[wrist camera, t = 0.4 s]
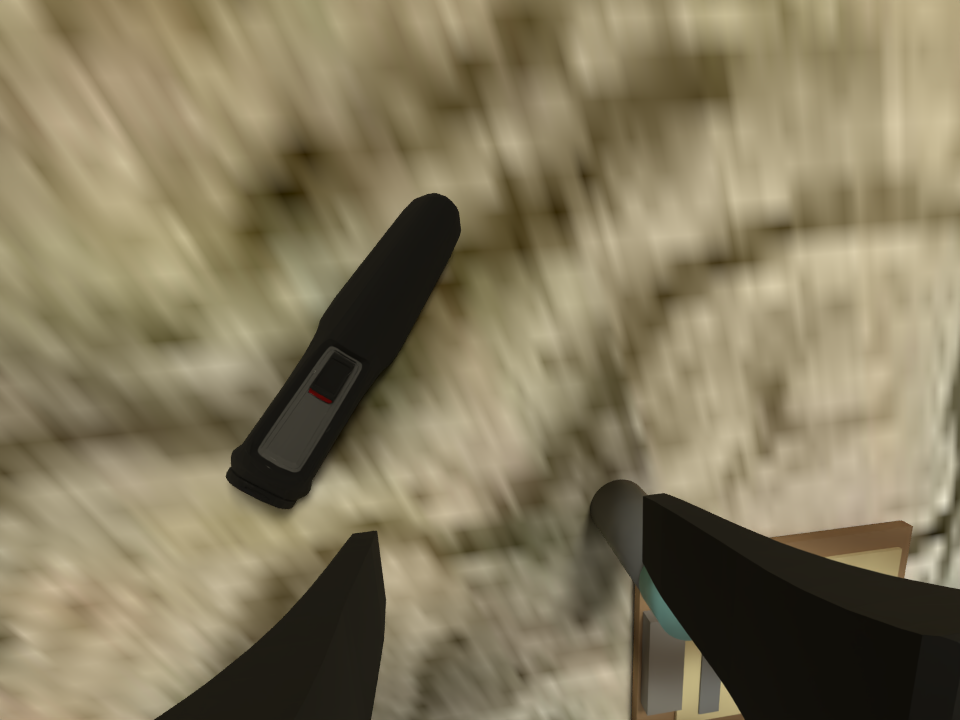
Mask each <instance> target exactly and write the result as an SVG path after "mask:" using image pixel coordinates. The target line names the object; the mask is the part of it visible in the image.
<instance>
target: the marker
mask: <svg viewBox="0 0 960 720" xmlns="http://www.w3.org/2000/svg"><path fill="white" fill-rule="evenodd" d="M646 495H647V494H646V493H645V492H644V491H643V490H642V489H641V488H640V487H639V486H638V485H637V484H636V483H634V482H631V481H628V480H615V481H612V482H609V483H607V484H606V485H604V486H603V487H601V488H600V489H599V490H598V491H597V493H596V494H595V496H594V497H593V500H592V502H591V509H590V511H591V517H592V519H593V521H594V523H595V524H596V526H597V527H598V529H599V530H600V532H601V533H602V535H603V536H604V538H605V539H606V541H607V543H608V544H609V546H610V547H611V549H612V550H613V552H614V553H615V555H616V556H617V558H618V559H619V561H620V562H621V564H622V565H623V567H624V568H625V570H626V571H627V573H628V574H629V576H630V577H631V579H632V580H633V582H634V583H635V585H636V586H637V588H638V589H639V591H640V593H641V595H642V597H643V599H644V601H645V602H646V604H647V605H648V607H649V608H650V610H651V611H652V613H653V614H654V616H655V617H656V619H657V620H658V622H659V623H660V625H661V626H662V628H663V629H664V630H665V632H667V633H668V634H669V635H670V636H672V637H674V638H676V639H679V640H685V641H692V640H691V638H690V637H689V636H688V634H687V633H686V631H685V630H684V629H683V627H682V626H681V624H680V623H679V622H678V620H677V619H676V617H675V616H674V615H673V613H672V612H671V610H670V609H669V608H668V606H667V605H666V603H665V602H664V600H663V599H662V597H661V596H660V594H659V592H658V591H657V589H656V587H655V585H654V583H653V582H652V580H651V578H650V576H649V574H648V572H647V570H646V568H645V566H644V564H643V562H642V535H643V496H646Z"/></svg>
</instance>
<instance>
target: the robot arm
mask: <svg viewBox="0 0 960 720" xmlns="http://www.w3.org/2000/svg"><path fill="white" fill-rule="evenodd" d="M642 562H643V564H644V566H645V568H646V570H647V572H648V574H649V576H650V578H651V580H652V582H653V583H654V585H655V587H656V589H657V591H658V592H659V594H660V596H661V597H662V599H663V600H664V602H665V603H666V605H667V606H668V608H669V609H670V610H671V612H672V613H673V615H674V616H675V617H676V619H677V620H678V622H679V623H680V624H681V626H682V627H683V629H684V630H685V631H686V633H687V634H688V636H689V637H690V638H691V640H692V641H693V642H694V644H695V645H696V647H697V648H698V649H699V651H700V652H701V654H702V655H703V656H704V658H705V659H706V660H707V662H708V663H709V665H710V666H711V667H712V669H713V670H714V672H715V673H716V674H717V676H718V677H719V679H720V680H721V682H722V683H723V685H724V686H725V688H726V689H727V691H728V692H729V694H730V696H731V697H732V699H733V701H734V702H735V704H736V706H737V707H738V709H739V711H740V712H741V714H742V716H743V717H744V719H745V720H960V589H955V588H949V587H944V586H939V585H934V584H929V583H924V582H919V581H914V580H909V579H905V578H900V577H896V576H891V575H887V574H883V573H879V572H875V571H871V570H867V569H864V568H860V567H856V566H852V565H848V564H845V563H841V562H838V561H835V560H831V559H828V558H825V557H822V556H819V555H816V554H813V553H810V552H807V551H804V550H800V549H797V548H795V547H792V546H789V545H786V544H784V543H781V542H778V541H776V540H773V539H771V538H768V537H766V536H763V535H761V534H758V533H756V532H753V531H751V530H749V529H746V528H744V527H741V526H739V525H737V524H735V523H732V522H730V521H728V520H726V519H723V518H721V517H719V516H717V515H714V514H712V513H710V512H708V511H706V510H703V509H701V508H699V507H697V506H695V505H692V504H690V503H688V502H685V501H683V500H681V499H678V498H676V497H673V496H671V495H668V494H665V493H662V494H654V495H646V496H643V535H642ZM385 609H386V596H385V589H384V581H383V573H382V565H381V558H380V550H379V542H378V535H377V531H370V532H362V533H355V534H352V536H351V537H350V538H349V539H348V540H347V542H346V543H345V544H344V545H343V547H342V548H341V549H340V551H339V552H338V553H337V555H336V556H335V557H334V559H333V560H332V561H331V562H330V564H329V565H328V566H327V568H326V569H325V570H324V571H323V573H322V574H321V575H320V576H319V577H318V579H317V580H316V581H315V582H314V584H313V585H312V586H311V587H310V588H309V590H308V591H307V592H306V593H305V594H304V595H303V596H302V597H301V599H300V600H299V601H298V602H297V603H296V604H295V605H294V606H293V607H292V608H291V610H290V611H289V612H288V613H287V614H286V615H285V616H284V617H283V618H282V619H281V620H280V621H279V622H278V623H277V624H276V625H275V626H274V627H273V628H272V629H271V630H270V631H268V632H267V633H266V634H265V635H264V636H263V637H262V638H261V639H260V640H259V641H258V642H257V643H255V644H254V645H253V646H252V647H251V648H250V649H249V650H247V651H246V652H245V653H244V654H242V655H241V656H240V657H239V658H237V659H236V660H235V661H234V662H233V663H231V664H230V665H229V666H228V667H226V668H225V669H224V670H223V671H221V672H220V673H219V674H218V675H216V676H215V677H214V678H213V679H211V680H210V681H209V682H207V683H206V684H205V685H203V686H202V687H201V688H199V689H198V690H197V691H195V692H194V693H192V694H191V695H190V696H188V697H187V698H185V699H184V700H183V701H181V702H180V703H178V704H177V705H175V706H174V707H172V708H171V709H169V710H168V711H166V712H165V713H163V714H162V715H161V716H159V717H157V718H156V719H154V720H371V716H372V710H373V704H374V698H375V692H376V686H377V680H378V674H379V668H380V661H381V655H382V649H383V642H384V630H385Z"/></svg>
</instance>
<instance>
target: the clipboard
mask: <svg viewBox="0 0 960 720" xmlns="http://www.w3.org/2000/svg"><path fill="white" fill-rule="evenodd" d="M912 528H913V526H911V525H909V524H907V523H906V522H904V521H894V522H886V523H879V524H871V525H864V526H856V527H848V528H841V529H833V530H825V531H818V532H810V533H803V534H795V535H787V536H780V537H772V538H771V539H773V540H776V541H778V542H781V543H784V544H786V545H789V546H792V547H795V548H797V549H800V550H804V551H807V552H810V553H813V554H816V555H819V556H822V557H825V558H828V559H831V560H835V561H838V562H841V563H845V564H848V565H852V566H856V567H860V568H864V569H867V570H871V571H875V572H879V573H883V574H887V575H891V576H896V577H900V578H904V575H905V569H906V563H907V558H908V552H909V546H910V540H911V534H912ZM632 720H745V719H744V717H743V716H742V714H741V712H740V711H739V709H738V707H737V706H736V704H735V702H734V701H733V699H732V697H731V696H730V694H729V692H728V691H727V689H726V688H725V686H724V685H723V683H722V682H721V680H720V679H719V677H718V676H717V674H716V673H715V672H714V670H713V669H712V667H711V666H710V665H709V663H708V662H707V660H706V659H705V658H704V656H703V655H702V654H701V652H700V651H699V649H698V648H697V647H696V645H695V644H694V642H693V641H685V640H679V639H676V638H674V637H672V636H670V635H669V634H668V633H667V632H665V630H664V629H663V628H662V626H661V625H660V623H659V622H658V620H657V619H656V617H655V616H654V614H653V613H652V611H651V610H650V608H649V607H648V605H647V604H646V602H645V601H644V599H643V597H642V595H641V593H640V591H639V589H638V588H637V586H636V585H635V606H634V648H633V690H632Z"/></svg>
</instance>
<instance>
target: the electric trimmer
mask: <svg viewBox="0 0 960 720" xmlns="http://www.w3.org/2000/svg"><path fill="white" fill-rule="evenodd" d="M460 232H461V226H460V217H459V211H458V209H457V207H456V206H455V205H454V203H453V202H452V201H451V200H450V199H448V198H447V197H446V196H443V195H440V194H437V193H432V194H427V195H424V196H421V197H419V198H416V199H414V200H413V201H412V202H411V203H410V204H409V205H408V206H407V207H406V208H405V209H404V210H403V211H402V213H401V214H400V215H399V216H398V218H397V219H396V220H395V222H394V223H393V224H392V225H391V227H390V228H389V229H388V230H387V232H386V233H385V234H384V236H383V237H382V238H381V239H380V241H379V242H378V243H377V245H376V246H375V247H374V248H373V250H372V251H371V252H370V253H369V255H368V256H367V257H366V259H365V260H364V261H363V262H362V264H361V265H360V266H359V268H358V269H357V270H356V271H355V273H354V274H353V275H352V276H351V278H350V279H349V280H348V282H347V283H346V284H345V285H344V287H343V288H342V289H341V291H340V292H339V293H338V294H337V296H336V297H335V298H334V300H333V301H332V303H331V304H330V306H329V307H328V309H327V310H326V312H325V313H324V315H323V316H322V318H321V320H320V323H319V326H318V329H317V332H316V334H315V336H314V338H313V339H312V341H311V343H310V345H309V347H308V349H307V350H306V352H305V354H304V355H303V357H302V358H301V360H300V361H299V363H298V364H297V366H296V367H295V369H294V371H293V372H292V374H291V375H290V377H289V378H288V380H287V381H286V383H285V384H284V386H283V387H282V388H281V390H280V391H279V393H278V394H277V396H276V397H275V398H274V400H273V401H272V403H271V404H270V406H269V407H268V408H267V410H266V411H265V413H264V414H263V415H262V417H261V418H260V420H259V421H258V423H257V424H256V425H255V427H254V428H253V430H252V431H251V433H250V434H249V435H248V437H247V438H246V440H245V441H244V442H243V444H242V445H240V446H239V447H237V448H236V449H235V450H233V452H232V455H231V467H230V468H229V470H228V471H227V474H226V478H227V480H228V481H229V483H230V484H232V485H233V486H234V487H236V488H238V489H239V490H241V491H243V492H244V493H246V494H248V495H250V496H252V497H254V498H256V499H258V500H260V501H262V502H265V503H267V504H270V505H272V506H275V507H277V508H282V509H290V508H292V507H293V506H294V504H295V503H296V501H297V500H298V499H299V498H302V497H304V496H306V495H307V494H308V493H309V491H310V489H311V483H312V480H313V478H314V476H315V475H316V473H317V471H318V469H319V468H320V466H321V464H322V463H323V461H324V459H325V458H326V456H327V454H328V453H329V451H330V449H331V447H332V446H333V444H334V442H335V441H336V439H337V437H338V436H339V434H340V432H341V431H342V429H343V427H344V426H345V424H346V423H347V421H348V419H349V418H350V416H351V414H352V413H353V411H354V410H355V408H356V406H357V405H358V403H359V401H360V400H361V398H362V397H363V396H364V394H365V393H366V391H367V390H368V389H369V387H370V386H371V385H372V383H373V382H374V381H375V379H376V378H377V377H378V375H379V374H380V373H381V372H382V371H383V370H384V369H385V368H386V367H387V366H389V365H390V364H391V363H392V361H393V360H394V359H395V357H396V356H397V354H398V352H399V351H400V349H401V347H402V345H403V344H404V342H405V340H406V338H407V336H408V335H409V333H410V331H411V329H412V327H413V325H414V323H415V322H416V320H417V318H418V316H419V314H420V312H421V310H422V308H423V307H424V305H425V303H426V301H427V299H428V297H429V295H430V294H431V292H432V290H433V288H434V286H435V284H436V282H437V281H438V279H439V277H440V275H441V273H442V271H443V269H444V267H445V266H446V264H447V262H448V260H449V258H450V256H451V254H452V252H453V249H454V247H455V245H456V243H457V241H458V239H459V236H460Z"/></svg>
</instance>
